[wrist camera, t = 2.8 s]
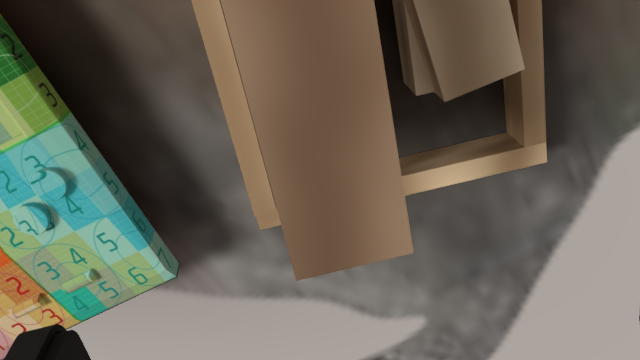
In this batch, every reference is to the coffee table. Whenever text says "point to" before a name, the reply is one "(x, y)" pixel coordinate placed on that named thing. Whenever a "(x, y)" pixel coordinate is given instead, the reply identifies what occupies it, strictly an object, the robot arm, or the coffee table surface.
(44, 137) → the puzzle game
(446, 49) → the offcut top
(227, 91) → the frame
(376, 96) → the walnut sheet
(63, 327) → the robot arm
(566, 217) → the coffee table surface
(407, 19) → the offcut low
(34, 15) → the coffee table surface
